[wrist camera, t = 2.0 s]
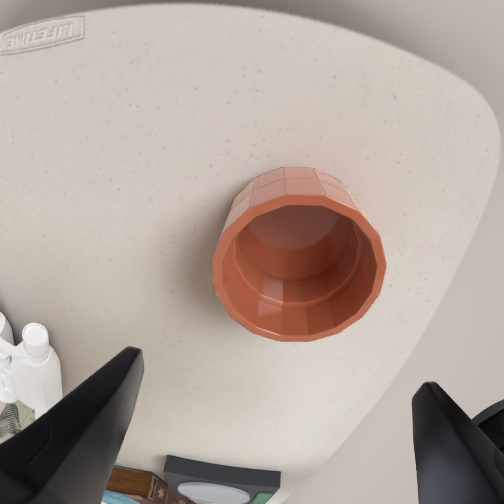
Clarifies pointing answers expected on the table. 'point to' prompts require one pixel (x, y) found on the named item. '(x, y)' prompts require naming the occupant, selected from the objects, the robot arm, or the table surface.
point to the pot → (297, 257)
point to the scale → (219, 482)
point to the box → (15, 419)
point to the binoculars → (29, 368)
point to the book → (138, 489)
